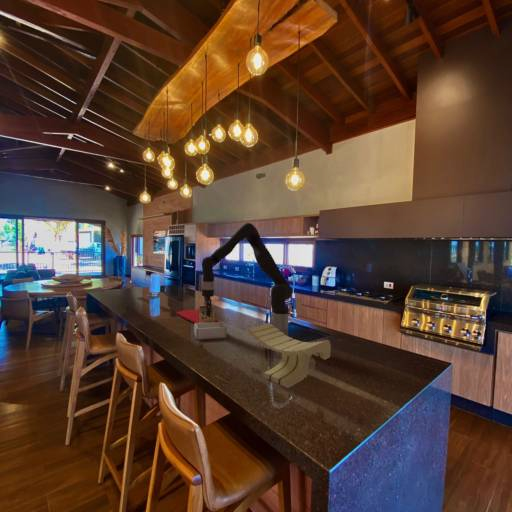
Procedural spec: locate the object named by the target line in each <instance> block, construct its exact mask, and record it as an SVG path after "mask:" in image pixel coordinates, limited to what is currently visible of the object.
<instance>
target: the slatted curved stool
mask: <svg viewBox="0 0 512 512" xmlns="http://www.w3.org/2000/svg"><path fill="white" fill-rule="evenodd" d="M248 335H249V336H251V337H253V340H256V341H257V340H258V343H259V344H260V345H262V344H263V348H266V349H268V350H272V351H274V352H276V353H281V360H280V362H279V363H277V365H276V366H274V367H272V368H271V369H268V370H266V371H264V372H263V374H262V377H263V378H265V379H267V380H270V381H271V382H273V383H276V384H277V385H280V386H282V387H285V388H287V389H289V388H291V387H293V386H294V385H296V384H298V383H300V382H302V381H303V380H305V379H306V378H307V377H308V374H309V373H308V372H309V363H310V360H311V357H312V356H316V357H319V358H321V359H323V360H324V361H326V360H327V359H329V358H331V350H332V349H331V346H332V345H331V341H330V340H329V339H325V340H321V341H318V342H315V341H313V342H306V341H301V340H298V339H296V338H295V339H294V338H292V337H290V336H289V335H288V336H286V335H285V334H284V333H282V332H280V330H279V329H277V328H275V326H274V325H272V324H271V323H265V324H260V325H256V326H253V327H249V328H248ZM305 377H306V378H305ZM304 378H305V379H304Z"/></svg>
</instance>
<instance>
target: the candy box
mask: <svg viewBox="0 0 512 512" xmlns="http://www.w3.org/2000/svg"><path fill="white" fill-rule="evenodd" d="M215 307H216V305H215V304H211V310H210V316H206V306H205V305H204V304H200V305H199V312H200V317H199V323H207V322H214V318H215V310H216V309H215ZM208 308H209V307H208Z"/></svg>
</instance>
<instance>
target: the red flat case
mask: <svg viewBox="0 0 512 512" xmlns="http://www.w3.org/2000/svg"><path fill="white" fill-rule="evenodd" d="M175 314H176V315H178V317H181V318H182V317H183V318H182V319H184V318H185V319H184V320H187V321H188V320H189V322H190V323H193V324H194V323H199V317H200V310H199V311H198V310H196V309H186V310H185V309H184V310H180V311H176V313H175ZM214 322H221V321H220V320H218V319H217V318H215V317H214Z"/></svg>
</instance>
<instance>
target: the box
mask: <svg viewBox="0 0 512 512" xmlns="http://www.w3.org/2000/svg"><path fill="white" fill-rule="evenodd" d="M227 330H228V329H227V326H226V325H225V323H224V322H223V321H220V322H207V323H193V334H194V338H195V340H197V341H198V340H207V339H208V340H210V339H223V338H224V339H225V338H227V332H228V331H227Z"/></svg>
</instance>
